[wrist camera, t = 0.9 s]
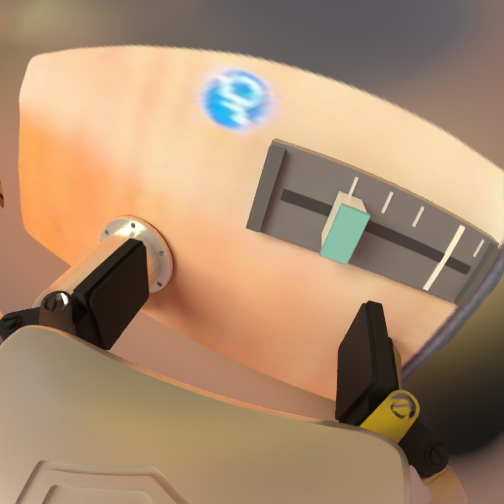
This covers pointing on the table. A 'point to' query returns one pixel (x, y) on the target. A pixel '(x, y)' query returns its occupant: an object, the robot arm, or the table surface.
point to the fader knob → (343, 228)
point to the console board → (372, 223)
